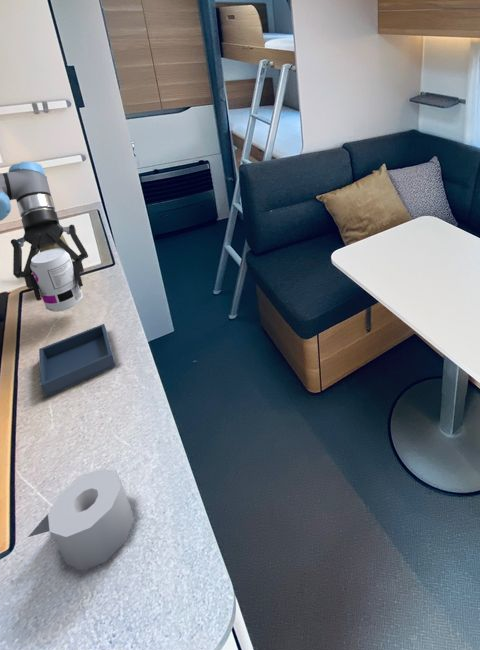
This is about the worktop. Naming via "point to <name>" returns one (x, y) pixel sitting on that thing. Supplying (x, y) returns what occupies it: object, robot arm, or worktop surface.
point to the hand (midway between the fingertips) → (60, 291)
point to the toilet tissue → (89, 519)
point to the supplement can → (56, 279)
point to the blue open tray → (75, 359)
